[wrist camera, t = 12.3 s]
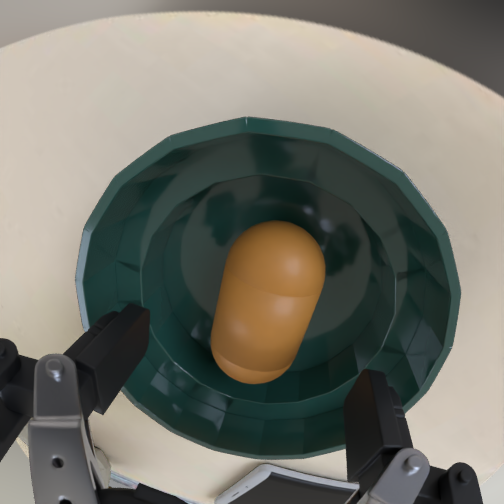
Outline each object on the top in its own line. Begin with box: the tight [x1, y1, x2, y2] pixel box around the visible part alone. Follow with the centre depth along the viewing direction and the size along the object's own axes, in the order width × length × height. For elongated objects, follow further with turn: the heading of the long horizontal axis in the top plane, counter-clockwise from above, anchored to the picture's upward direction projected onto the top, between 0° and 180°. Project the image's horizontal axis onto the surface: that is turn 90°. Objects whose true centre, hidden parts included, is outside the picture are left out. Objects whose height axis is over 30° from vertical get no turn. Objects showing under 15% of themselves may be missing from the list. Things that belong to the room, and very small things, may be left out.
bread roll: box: [211, 220, 325, 384], centre depth 14 cm, size 8×4×4 cm, turn 167°
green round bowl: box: [75, 117, 461, 460], centre depth 14 cm, size 16×16×6 cm
